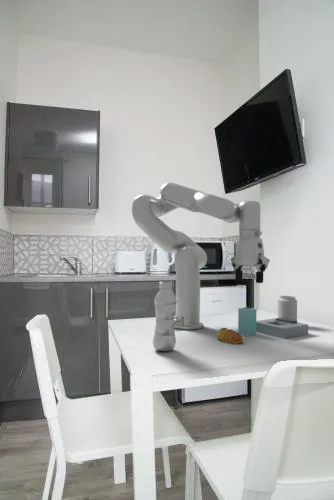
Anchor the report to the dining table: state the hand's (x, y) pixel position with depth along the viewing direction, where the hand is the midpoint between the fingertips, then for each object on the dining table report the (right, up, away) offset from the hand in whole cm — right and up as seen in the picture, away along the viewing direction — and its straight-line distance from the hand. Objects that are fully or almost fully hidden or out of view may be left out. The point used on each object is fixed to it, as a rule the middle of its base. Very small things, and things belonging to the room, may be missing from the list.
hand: (248, 281), depth 119 cm
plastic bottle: (-31, -18, -24) cm, 43 cm away
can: (+20, -20, +15) cm, 32 cm away
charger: (-1, -19, -1) cm, 19 cm away
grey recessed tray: (+12, -19, +2) cm, 23 cm away
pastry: (-9, -19, -11) cm, 24 cm away
